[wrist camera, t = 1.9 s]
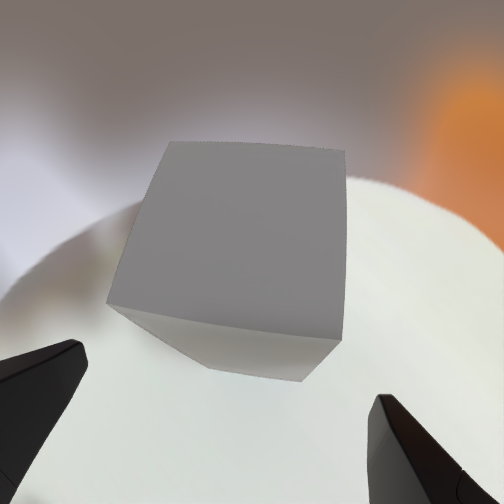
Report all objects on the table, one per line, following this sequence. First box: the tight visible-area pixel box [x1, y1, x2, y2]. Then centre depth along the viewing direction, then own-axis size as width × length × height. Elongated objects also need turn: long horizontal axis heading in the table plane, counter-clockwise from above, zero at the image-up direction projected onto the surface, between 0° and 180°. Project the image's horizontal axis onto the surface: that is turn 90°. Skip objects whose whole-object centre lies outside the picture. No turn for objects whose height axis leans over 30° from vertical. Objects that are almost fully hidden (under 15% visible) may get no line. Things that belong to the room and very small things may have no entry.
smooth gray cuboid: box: [106, 142, 347, 382], centre depth 14 cm, size 6×6×13 cm
